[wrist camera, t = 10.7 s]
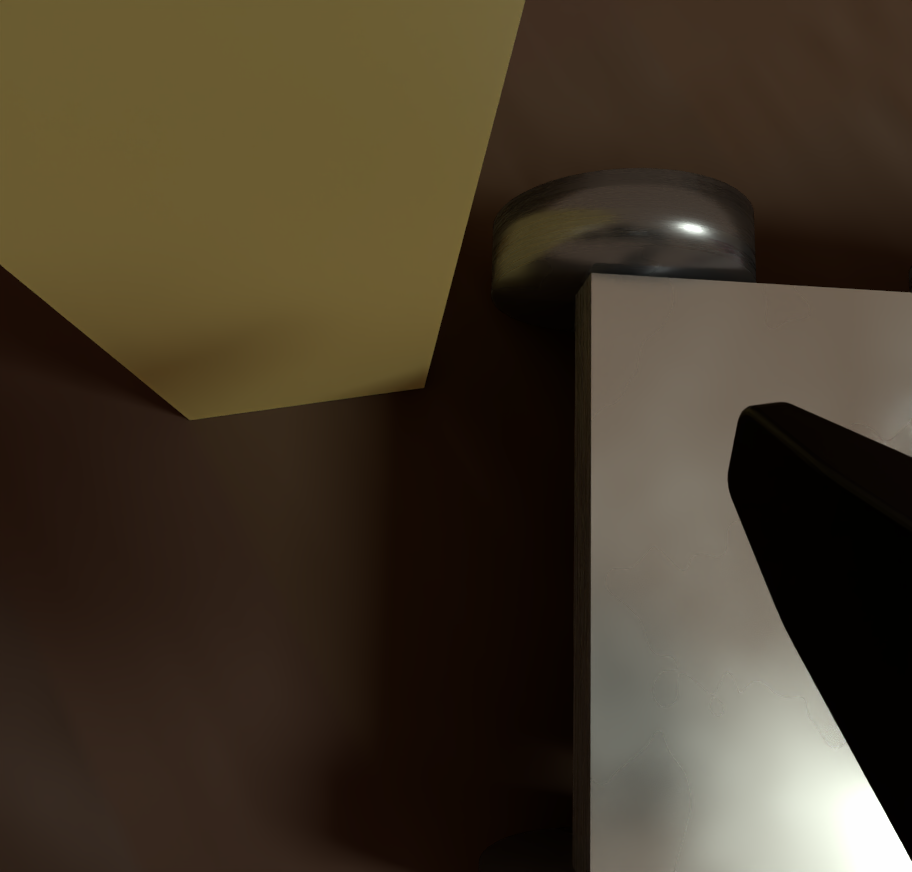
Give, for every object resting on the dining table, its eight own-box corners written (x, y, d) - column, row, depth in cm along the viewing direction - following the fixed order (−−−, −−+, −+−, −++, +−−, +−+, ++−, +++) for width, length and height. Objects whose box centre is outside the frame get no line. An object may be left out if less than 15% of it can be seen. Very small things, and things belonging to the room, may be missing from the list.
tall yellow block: (424, 388, 18) (551, -99, 5) (189, 419, 18) (-365, -35, 4) (390, 173, 19) (422, -745, 6) (163, 197, 18) (-381, -765, 5)
